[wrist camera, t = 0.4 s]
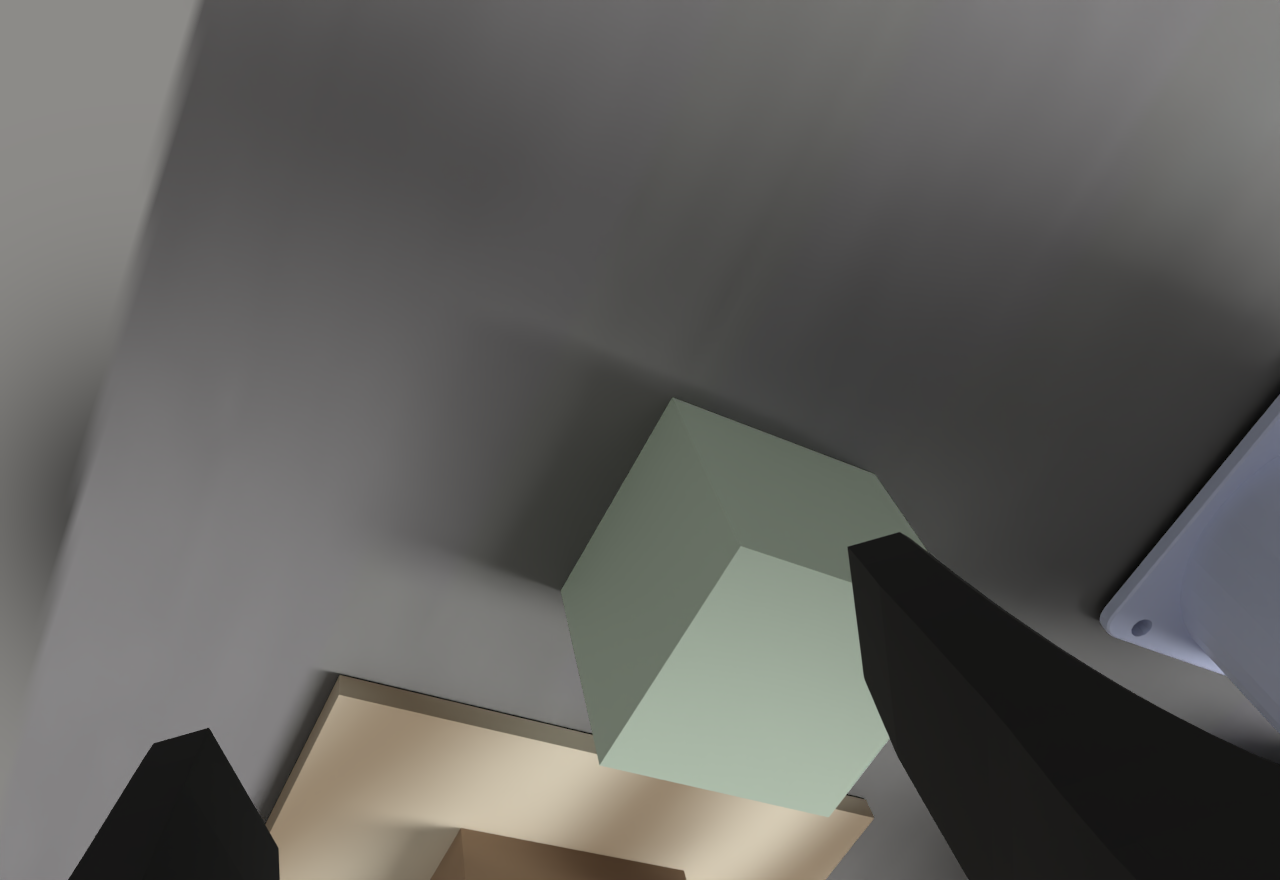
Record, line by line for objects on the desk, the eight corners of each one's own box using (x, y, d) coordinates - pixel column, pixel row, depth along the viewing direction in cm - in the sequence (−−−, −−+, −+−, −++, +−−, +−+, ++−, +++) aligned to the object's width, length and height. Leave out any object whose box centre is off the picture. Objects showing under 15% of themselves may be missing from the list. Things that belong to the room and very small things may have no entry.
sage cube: (873, 472, 24) (977, 624, 20) (755, 645, 26) (828, 817, 22) (671, 395, 22) (740, 546, 18) (559, 588, 24) (599, 765, 20)
